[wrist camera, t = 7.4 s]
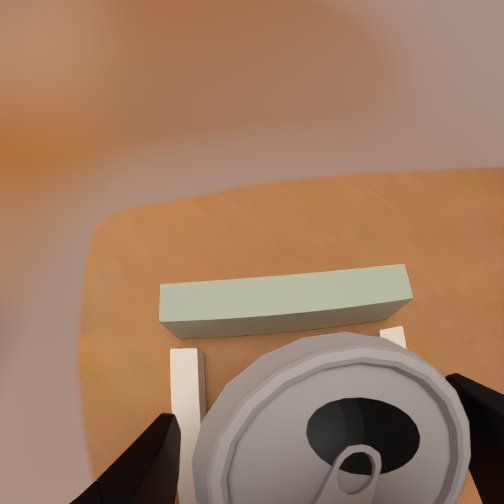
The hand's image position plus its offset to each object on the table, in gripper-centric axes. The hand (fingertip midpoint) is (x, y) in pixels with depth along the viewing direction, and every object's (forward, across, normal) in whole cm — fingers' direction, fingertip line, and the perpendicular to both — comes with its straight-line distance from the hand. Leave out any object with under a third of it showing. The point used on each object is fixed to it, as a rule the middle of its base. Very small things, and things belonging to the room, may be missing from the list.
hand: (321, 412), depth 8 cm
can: (+5, 0, +7) cm, 9 cm away
